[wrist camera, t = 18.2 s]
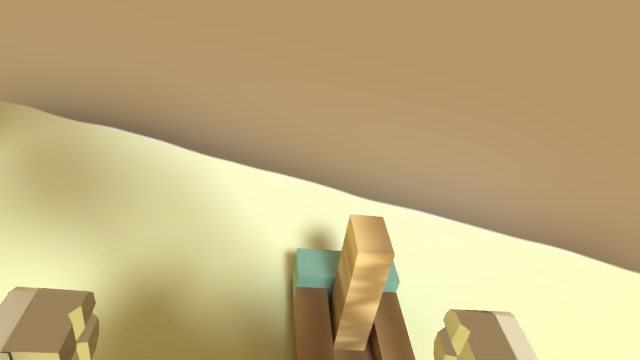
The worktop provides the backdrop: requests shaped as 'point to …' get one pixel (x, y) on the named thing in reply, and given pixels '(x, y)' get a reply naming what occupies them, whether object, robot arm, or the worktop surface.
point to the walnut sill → (314, 318)
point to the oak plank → (359, 281)
